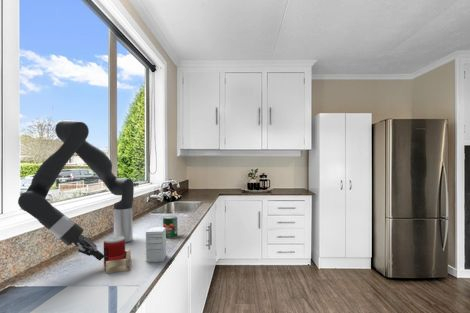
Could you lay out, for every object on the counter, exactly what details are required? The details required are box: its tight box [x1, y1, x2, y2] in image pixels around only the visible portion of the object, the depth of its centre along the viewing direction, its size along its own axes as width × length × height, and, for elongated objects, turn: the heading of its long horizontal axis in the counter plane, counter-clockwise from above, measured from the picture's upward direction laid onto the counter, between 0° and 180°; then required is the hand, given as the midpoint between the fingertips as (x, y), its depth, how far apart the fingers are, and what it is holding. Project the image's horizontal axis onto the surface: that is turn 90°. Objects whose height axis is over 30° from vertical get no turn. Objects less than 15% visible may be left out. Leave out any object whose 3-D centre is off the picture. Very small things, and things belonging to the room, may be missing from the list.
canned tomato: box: [162, 215, 179, 240], centre depth 154 cm, size 8×8×11 cm
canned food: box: [103, 235, 126, 270], centre depth 111 cm, size 8×8×11 cm
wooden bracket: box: [105, 249, 132, 274], centre depth 112 cm, size 8×13×4 cm, turn 20°
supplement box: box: [145, 226, 167, 263], centre depth 119 cm, size 7×7×13 cm
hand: (102, 258), depth 110 cm, fingers closed
